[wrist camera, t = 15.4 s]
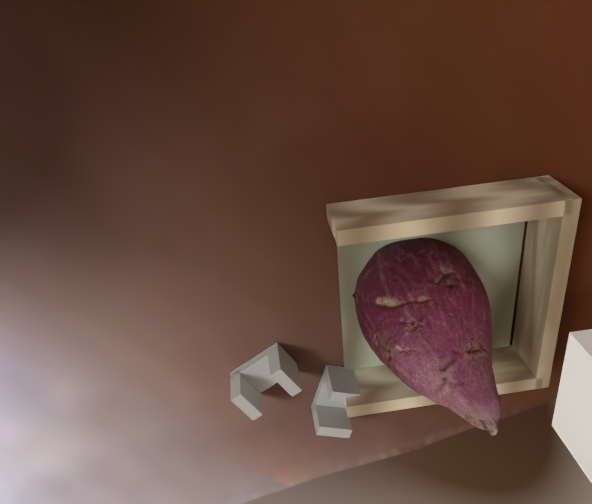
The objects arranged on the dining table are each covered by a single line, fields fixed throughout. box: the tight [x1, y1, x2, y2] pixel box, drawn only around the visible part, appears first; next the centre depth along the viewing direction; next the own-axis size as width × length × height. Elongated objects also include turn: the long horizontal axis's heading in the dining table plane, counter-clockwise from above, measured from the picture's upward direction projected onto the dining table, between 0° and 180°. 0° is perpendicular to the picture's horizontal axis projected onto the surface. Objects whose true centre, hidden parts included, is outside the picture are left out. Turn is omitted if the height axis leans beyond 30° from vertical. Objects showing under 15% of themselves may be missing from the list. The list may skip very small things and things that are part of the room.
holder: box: [326, 175, 582, 418], centre depth 44 cm, size 17×17×4 cm
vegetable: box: [352, 238, 501, 436], centre depth 41 cm, size 10×10×15 cm
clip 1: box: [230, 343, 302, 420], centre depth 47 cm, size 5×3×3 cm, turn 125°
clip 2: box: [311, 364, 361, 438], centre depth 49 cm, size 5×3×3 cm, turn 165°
